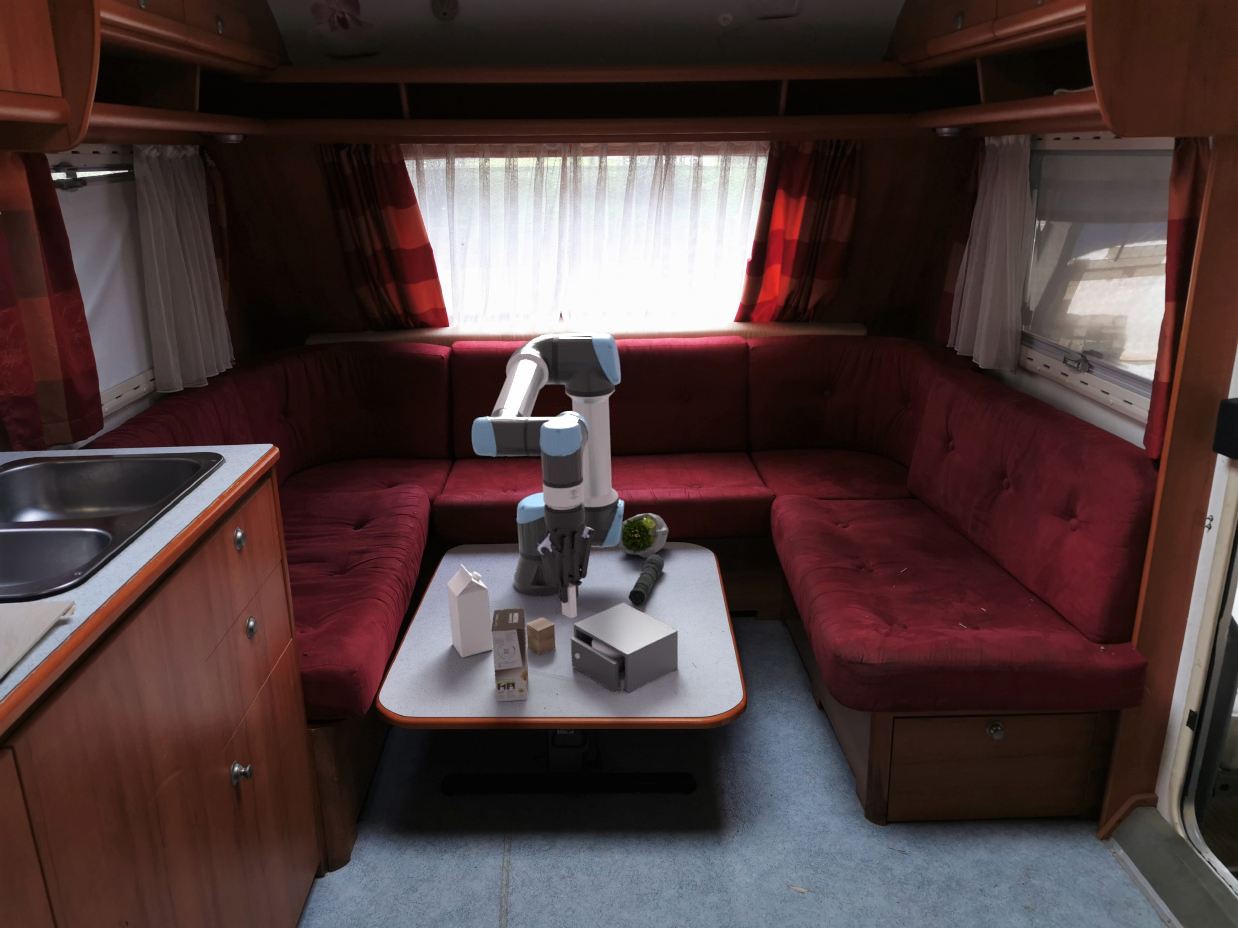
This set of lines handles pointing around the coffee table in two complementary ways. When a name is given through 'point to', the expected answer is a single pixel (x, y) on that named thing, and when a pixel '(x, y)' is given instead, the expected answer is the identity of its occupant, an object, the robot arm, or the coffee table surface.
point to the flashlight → (646, 579)
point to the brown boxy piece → (541, 636)
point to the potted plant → (643, 535)
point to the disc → (605, 650)
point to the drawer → (598, 665)
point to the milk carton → (469, 613)
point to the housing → (633, 642)
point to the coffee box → (510, 654)
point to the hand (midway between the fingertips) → (569, 614)
